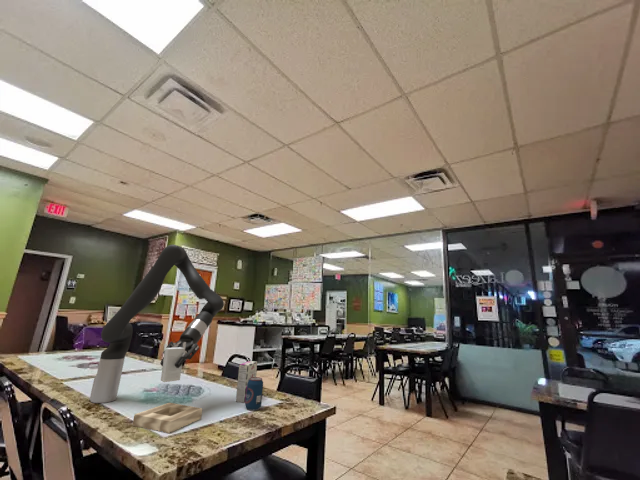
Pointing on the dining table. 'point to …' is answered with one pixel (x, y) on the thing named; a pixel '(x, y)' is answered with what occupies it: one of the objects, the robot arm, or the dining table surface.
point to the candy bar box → (245, 379)
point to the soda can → (254, 393)
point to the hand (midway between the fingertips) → (169, 365)
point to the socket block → (167, 417)
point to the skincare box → (171, 364)
